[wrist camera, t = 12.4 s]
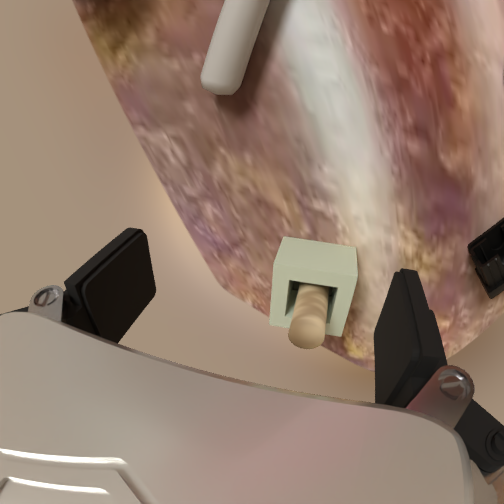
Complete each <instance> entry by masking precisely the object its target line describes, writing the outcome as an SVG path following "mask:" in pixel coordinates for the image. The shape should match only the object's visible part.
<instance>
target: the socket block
mask: <svg viewBox="0 0 504 504" xmlns="http://www.w3.org/2000/svg"><path fill="white" fill-rule="evenodd" d="M357 278H358V268H357V254H356V247H351V246H345V245H338V244H332V243H325V242H319V241H312V240H305V239H298V238H292V237H285V236H284V237H283V239H282V242H281V245H280V248H279V250H278V253H277V256H276V258H275V261H274V266H273V280H272V293H271V306H270V318H269V325H273V326H278V327H284V328H290V324H291V320H292V316H293V312H294V307H295V303H296V298H297V294H298V289H299V285H300V282H305V283H312V284H318V285H325V286H329V296H328V307H327V318H326V328H325V334H327V335H333V336H340V337H341V335H342V332H343V329H344V325H345V322H346V319H347V315H348V312H349V308H350V305H351V301H352V297H353V294H354V290H355V286H356V282H357Z"/></svg>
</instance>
